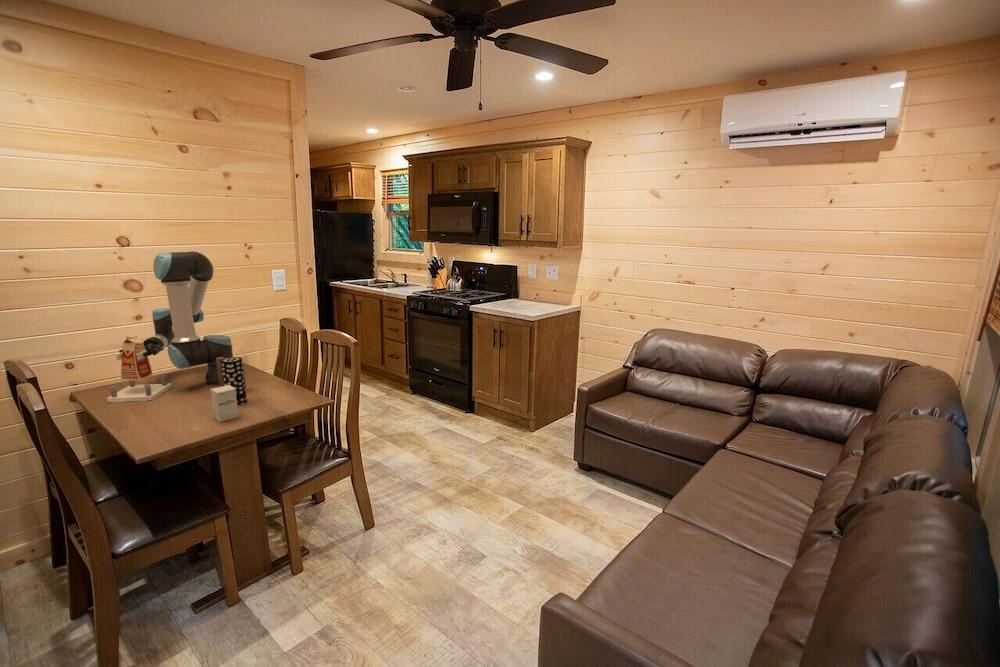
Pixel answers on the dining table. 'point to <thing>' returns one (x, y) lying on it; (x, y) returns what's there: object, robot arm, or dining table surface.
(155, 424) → the dining table surface
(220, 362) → the wooden block
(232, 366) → the white-spotted black cylinder
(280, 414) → the dining table surface
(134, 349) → the milk carton
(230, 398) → the supplement box
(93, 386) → the dining table surface
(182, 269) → the robot arm
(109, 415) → the dining table surface
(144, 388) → the peg platform
